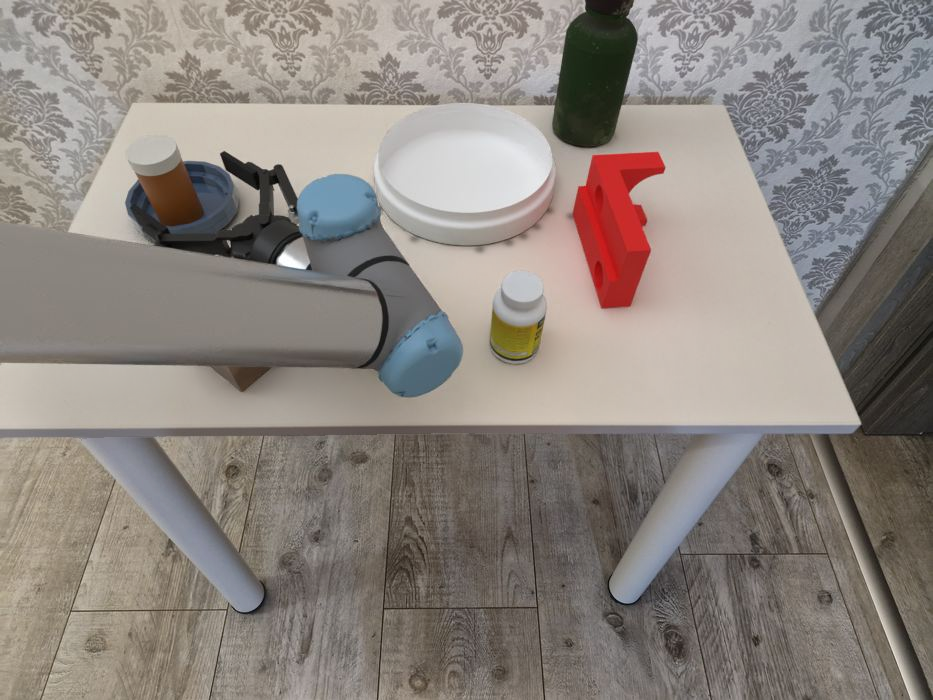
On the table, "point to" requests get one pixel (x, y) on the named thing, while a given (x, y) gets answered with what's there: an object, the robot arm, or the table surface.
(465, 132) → the round white tray
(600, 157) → the bracket
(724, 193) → the table surface
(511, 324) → the pill bottle
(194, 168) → the bowl
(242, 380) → the riser
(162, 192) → the vitamin bottle
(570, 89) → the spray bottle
